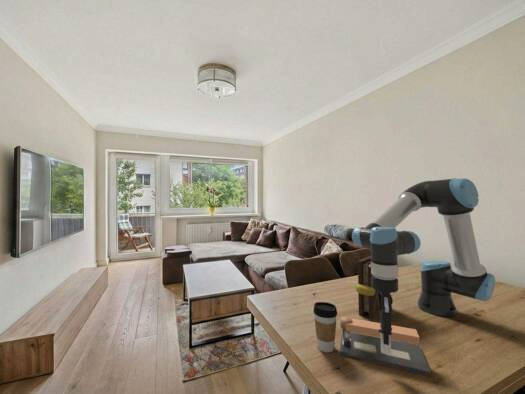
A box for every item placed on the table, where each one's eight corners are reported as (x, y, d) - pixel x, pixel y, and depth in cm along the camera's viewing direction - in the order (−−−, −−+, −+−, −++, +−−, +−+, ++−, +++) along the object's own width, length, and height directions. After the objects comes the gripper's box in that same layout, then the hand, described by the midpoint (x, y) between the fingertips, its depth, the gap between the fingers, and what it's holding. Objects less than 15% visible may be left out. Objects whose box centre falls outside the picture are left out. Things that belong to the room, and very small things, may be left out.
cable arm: (416, 336, 78) (415, 328, 78) (419, 345, 73) (419, 336, 73) (341, 322, 87) (340, 315, 87) (340, 329, 83) (339, 321, 83)
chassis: (419, 348, 82) (418, 330, 83) (430, 375, 70) (429, 353, 70) (342, 333, 92) (342, 316, 93) (339, 354, 80) (339, 335, 80)
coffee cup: (310, 340, 88) (310, 300, 88) (332, 339, 88) (331, 299, 89) (318, 355, 79) (317, 311, 80) (341, 353, 80) (341, 309, 80)
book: (371, 301, 122) (370, 254, 123) (389, 306, 116) (388, 256, 117) (353, 316, 107) (352, 261, 107) (372, 322, 101) (371, 265, 101)
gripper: (370, 269, 80) (371, 338, 80) (372, 281, 68) (373, 362, 68) (394, 272, 78) (396, 343, 77) (401, 284, 66) (403, 369, 65)
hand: (385, 352), depth 72 cm, fingers closed
